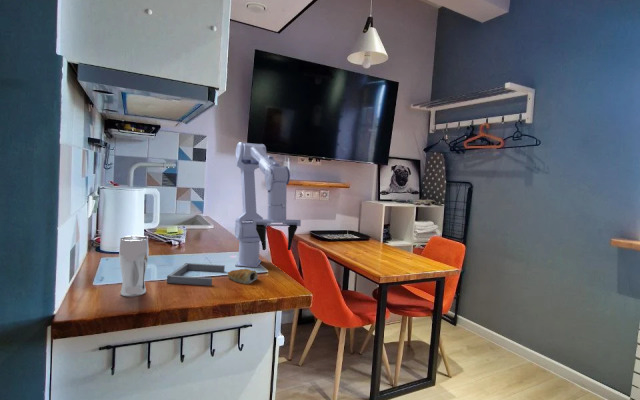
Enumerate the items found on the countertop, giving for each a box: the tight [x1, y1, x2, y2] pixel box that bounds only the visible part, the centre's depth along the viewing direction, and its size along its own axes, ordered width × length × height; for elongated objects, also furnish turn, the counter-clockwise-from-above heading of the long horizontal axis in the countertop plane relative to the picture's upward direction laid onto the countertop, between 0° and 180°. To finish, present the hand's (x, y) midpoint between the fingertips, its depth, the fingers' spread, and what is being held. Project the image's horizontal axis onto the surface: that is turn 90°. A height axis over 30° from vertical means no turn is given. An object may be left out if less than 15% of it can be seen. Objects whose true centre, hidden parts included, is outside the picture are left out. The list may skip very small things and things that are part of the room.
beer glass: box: [118, 235, 150, 298], centre depth 97 cm, size 7×7×15 cm
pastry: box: [227, 268, 259, 285], centre depth 115 cm, size 9×7×4 cm
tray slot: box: [166, 262, 225, 287], centre depth 115 cm, size 15×13×2 cm
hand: (276, 249), depth 111 cm, fingers open, 7 cm apart
